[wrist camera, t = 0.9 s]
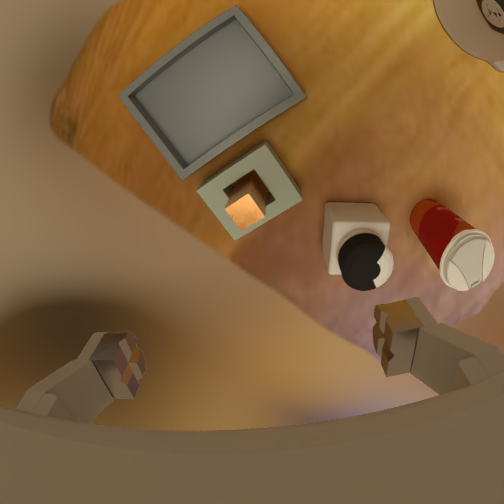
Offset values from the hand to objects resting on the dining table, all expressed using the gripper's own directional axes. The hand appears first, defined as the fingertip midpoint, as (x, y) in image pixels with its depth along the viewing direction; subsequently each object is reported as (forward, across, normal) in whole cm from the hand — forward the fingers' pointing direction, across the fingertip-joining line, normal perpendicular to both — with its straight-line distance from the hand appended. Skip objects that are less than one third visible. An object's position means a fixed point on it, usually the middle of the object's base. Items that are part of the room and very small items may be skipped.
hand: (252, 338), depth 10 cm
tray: (+33, +4, -11) cm, 35 cm away
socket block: (+34, +1, +2) cm, 34 cm away
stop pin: (+34, +1, +2) cm, 34 cm away
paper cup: (+33, -23, +9) cm, 41 cm away
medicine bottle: (+34, -11, +10) cm, 37 cm away
